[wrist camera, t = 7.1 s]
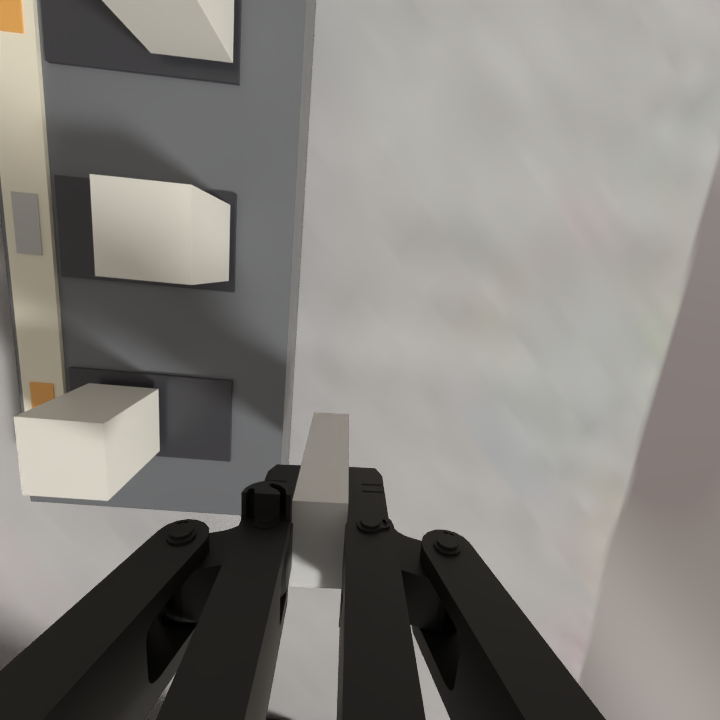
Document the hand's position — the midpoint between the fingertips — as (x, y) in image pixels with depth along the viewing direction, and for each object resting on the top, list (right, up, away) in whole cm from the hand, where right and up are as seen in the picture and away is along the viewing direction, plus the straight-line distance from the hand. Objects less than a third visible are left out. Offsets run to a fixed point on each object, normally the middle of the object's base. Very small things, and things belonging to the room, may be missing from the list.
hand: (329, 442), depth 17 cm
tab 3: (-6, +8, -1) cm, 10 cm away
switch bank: (-8, +10, +2) cm, 12 cm away
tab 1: (-9, +1, +1) cm, 9 cm away
